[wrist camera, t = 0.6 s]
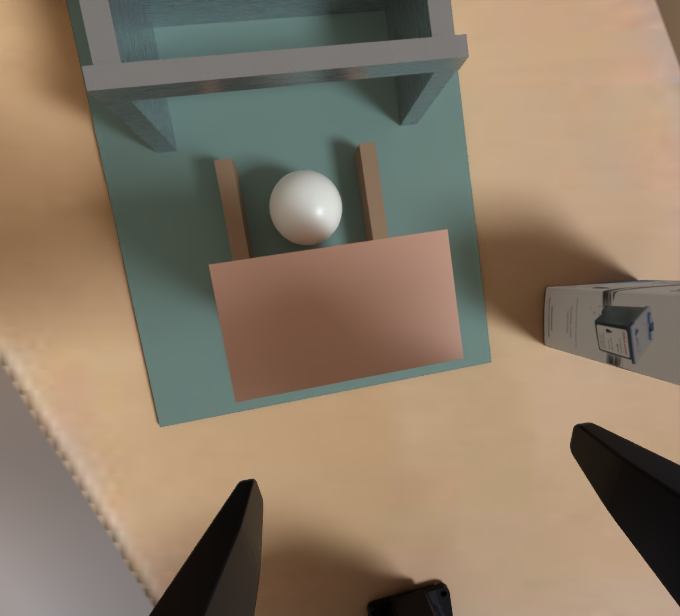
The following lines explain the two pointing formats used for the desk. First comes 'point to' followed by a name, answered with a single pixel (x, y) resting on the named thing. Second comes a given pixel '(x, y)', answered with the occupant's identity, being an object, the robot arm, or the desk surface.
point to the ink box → (618, 325)
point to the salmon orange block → (337, 313)
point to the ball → (305, 207)
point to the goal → (260, 55)
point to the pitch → (256, 188)
